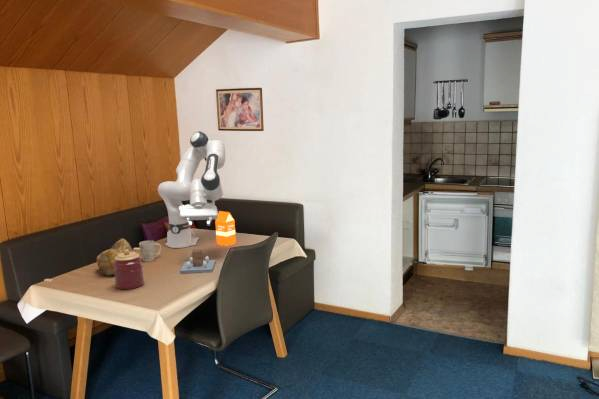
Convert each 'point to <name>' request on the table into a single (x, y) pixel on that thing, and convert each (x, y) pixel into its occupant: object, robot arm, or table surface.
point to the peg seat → (206, 266)
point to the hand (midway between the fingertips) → (199, 225)
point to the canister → (128, 270)
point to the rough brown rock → (111, 257)
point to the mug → (148, 250)
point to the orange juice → (225, 229)
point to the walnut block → (197, 257)
